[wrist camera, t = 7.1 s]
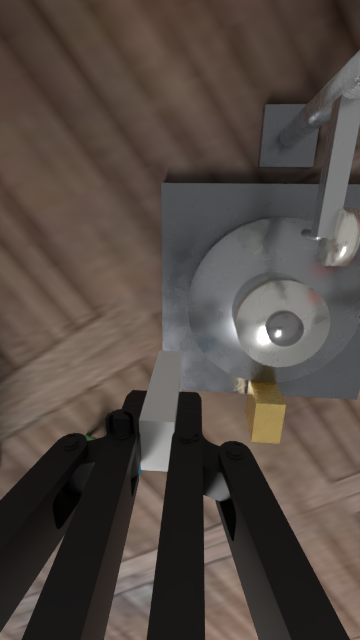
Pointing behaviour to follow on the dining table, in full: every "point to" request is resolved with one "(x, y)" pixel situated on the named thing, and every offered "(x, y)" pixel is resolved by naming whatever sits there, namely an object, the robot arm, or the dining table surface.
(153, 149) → the dining table surface
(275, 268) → the turntable
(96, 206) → the dining table surface
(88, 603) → the robot arm
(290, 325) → the cover
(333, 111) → the dial gauge
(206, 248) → the turntable base
